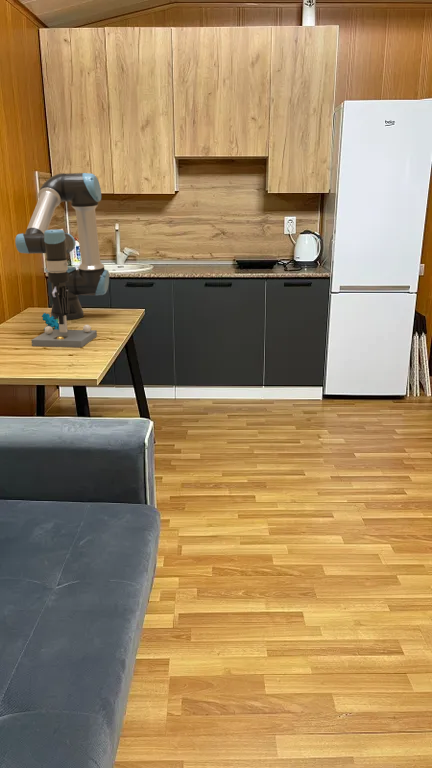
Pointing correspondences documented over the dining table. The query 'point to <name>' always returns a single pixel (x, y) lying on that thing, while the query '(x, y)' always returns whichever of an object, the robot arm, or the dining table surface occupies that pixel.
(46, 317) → the gear
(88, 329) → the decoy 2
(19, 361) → the dining table surface
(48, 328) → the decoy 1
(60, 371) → the dining table surface
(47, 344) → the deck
